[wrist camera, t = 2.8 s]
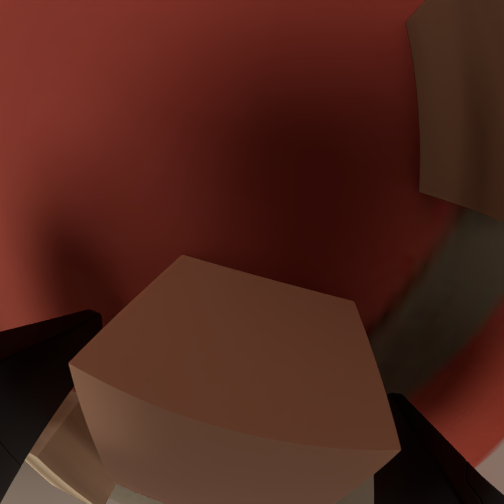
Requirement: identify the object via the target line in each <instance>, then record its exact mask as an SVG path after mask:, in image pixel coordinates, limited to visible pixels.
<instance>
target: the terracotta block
mask: <svg viewBox="0 0 504 504" xmlns="http://www.w3.org/2000/svg"><path fill="white" fill-rule="evenodd" d="M69 367H70V371H71V375H72V379H73V382H74V386H75V389H76V393H77V396H78V399H79V403H80V406H81V409H82V412H83V415H84V418H85V420H86V423H87V426H88V429H89V431H90V434H91V436H92V439H93V441H94V444H95V446H96V449H97V451H98V453H99V456H100V458H101V460H102V462H103V464H104V467H105V469H106V471H107V473H108V475H109V477H110V479H111V481H113V482H115V483H117V484H119V485H121V486H123V487H125V488H128V489H130V490H132V491H134V492H137V493H139V494H141V495H144V496H146V497H149V498H151V499H154V500H157V501H159V502H162V503H165V504H334V503H336V502H337V501H339V500H340V499H342V498H343V497H345V496H346V495H347V494H349V493H350V492H352V491H353V490H354V489H356V488H357V487H358V486H360V485H361V484H362V483H364V482H365V481H366V480H367V479H369V478H370V477H371V476H372V475H374V474H375V473H376V472H377V471H378V470H380V469H381V468H382V467H383V466H384V465H385V464H387V463H388V462H389V461H390V460H391V459H392V458H393V457H394V456H395V455H396V454H398V453H399V452H400V451H401V447H400V443H399V439H398V435H397V431H396V427H395V423H394V420H393V416H392V413H391V409H390V406H389V402H388V399H387V395H386V392H385V389H384V385H383V382H382V379H381V376H380V373H379V370H378V367H377V364H376V360H375V358H374V355H373V352H372V349H371V346H370V343H369V340H368V337H367V334H366V332H365V329H364V326H363V323H362V321H361V318H360V315H359V313H358V310H357V307H356V305H355V302H354V301H351V300H347V299H343V298H339V297H335V296H331V295H328V294H324V293H320V292H316V291H312V290H308V289H305V288H301V287H297V286H293V285H290V284H286V283H282V282H278V281H275V280H271V279H267V278H264V277H260V276H256V275H253V274H249V273H246V272H242V271H238V270H235V269H231V268H228V267H224V266H221V265H217V264H214V263H210V262H207V261H203V260H200V259H196V258H193V257H189V256H186V255H181V256H180V257H179V258H178V259H177V260H175V261H174V262H173V263H172V264H171V265H170V266H169V267H168V268H167V269H166V270H164V271H163V272H162V273H161V274H160V275H159V276H158V277H157V278H156V279H155V280H153V281H152V282H151V283H150V284H149V285H148V286H147V287H146V288H145V289H144V290H143V291H142V292H140V293H139V294H138V295H137V296H136V297H135V298H134V299H133V300H132V301H131V302H130V303H129V304H128V305H127V306H126V307H125V308H124V309H122V310H121V311H120V312H119V313H118V314H117V315H116V316H115V317H114V318H113V319H112V320H111V321H110V322H109V323H108V324H107V325H106V326H105V327H104V328H103V329H102V330H101V331H100V332H99V333H98V334H97V335H96V336H95V337H94V338H93V339H92V340H91V341H90V342H89V343H88V344H87V345H86V346H85V347H84V348H83V349H82V350H81V351H80V352H79V353H78V354H77V355H76V356H75V357H74V358H73V359H72V360H71V361H70V362H69Z"/></svg>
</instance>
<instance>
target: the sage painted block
mask: <svg viewBox="0 0 504 504" xmlns="http://www.w3.org/2000/svg"><path fill="white" fill-rule="evenodd" d="M334 504H374V475H372V476H371V477H370V478H369V479H367V480H366V481H365V482H364V483H362V484H361V485H360V486H358V487H357V488H356V489H354V490H353V491H352V492H350V493H349V494H347V495H346V496H345V497H343V498H342V499H340V500H339V501H337V502H336V503H334Z"/></svg>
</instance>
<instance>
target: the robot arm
mask: <svg viewBox="0 0 504 504" xmlns="http://www.w3.org/2000/svg"><path fill="white" fill-rule="evenodd" d="M102 329H103V326H102V316H101V314H99V313H98V312H95V311H93V310H90V309H88V310H84V311H81V312H77V313H73V314H69V315H65V316H61V317H57V318H53V319H49V320H45V321H41V322H37V323H33V324H29V325H25V326H21V327H17V328H13V329H9V330H5V331H1V332H0V503H1V501H2V499H3V497H4V496H5V494H6V492H7V490H8V488H9V487H10V485H11V483H12V481H13V480H14V478H15V476H16V474H17V473H18V471H19V469H20V467H21V465H22V464H23V462H24V460H25V459H26V457H27V456H28V454H29V452H30V451H31V449H32V448H33V446H34V445H35V443H36V441H37V440H38V438H39V437H40V435H41V434H42V432H43V431H44V429H45V428H46V426H47V425H48V423H49V422H50V420H51V419H52V417H53V416H54V414H55V413H56V411H57V410H58V408H59V407H60V405H61V404H62V403H63V401H64V400H65V398H66V397H67V396H68V394H69V393H70V391H71V390H72V388H73V387H74V382H73V379H72V375H71V371H70V367H69V362H70V361H71V360H72V359H73V358H74V357H75V356H76V355H77V354H78V353H79V352H80V351H81V350H82V349H83V348H84V347H85V346H86V345H87V344H88V343H89V342H90V341H91V340H92V339H93V338H94V337H95V336H96V335H97V334H98V333H99V332H100V331H101V330H102ZM387 399H388V402H389V406H390V409H391V413H392V416H393V420H394V423H395V427H396V431H397V435H398V439H399V443H400V447H401V451H400V452H399V453H398V454H396V455H395V456H394V457H393V458H392V459H391V460H390V461H389V462H388V463H387V464H385V465H384V466H383V467H382V468H381V469H380V470H378V471H377V472H376V473H375V474H374V504H504V495H503V494H502V493H501V492H500V491H498V490H497V489H496V488H495V487H494V486H493V485H491V484H490V483H489V482H488V481H487V480H486V479H485V478H483V477H482V476H481V475H480V474H479V473H478V472H477V471H476V470H475V469H474V468H473V467H472V466H471V465H470V464H469V462H468V461H466V459H465V458H464V457H463V456H462V455H461V454H460V453H459V452H458V451H457V450H456V449H455V448H454V447H453V446H452V445H451V444H450V443H449V442H448V441H447V440H446V439H445V438H444V437H443V436H442V435H441V434H440V433H439V432H438V431H437V429H436V428H435V427H434V426H433V425H432V424H431V423H430V422H429V421H428V420H427V419H426V418H425V417H424V416H423V415H422V414H421V413H420V412H419V411H418V410H417V409H416V408H415V407H414V406H413V405H412V404H411V403H410V402H409V401H408V400H407V399H406V398H405V397H404V396H403V395H402V394H400V393H389V394H388V395H387Z"/></svg>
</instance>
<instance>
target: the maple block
mask: <svg viewBox="0 0 504 504" xmlns="http://www.w3.org/2000/svg"><path fill="white" fill-rule="evenodd" d="M25 461H26V462H27V463H28V464H30V465H31V466H32V467H33V468H34V469H35V470H36V471H37V472H38V473H39V474H40V475H41V476H43V477H44V478H45V479H46V480H47V481H49V482H50V483H51V484H52V485H54V486H56V487H57V488H59V489H61V490H63V491H65V492H66V493H68V494H70V495H72V496H74V497H76V498H78V499H79V500H81V501H83V502H86V503H88V504H106V502H107V500H108V498H109V496H110V494H111V492H112V490H113V488H114V486H115V485H116V483H115V482H113V481H111V479H110V477H109V475H108V473H107V471H106V469H105V467H104V464H103V462H102V460H101V458H100V456H99V453H98V451H97V449H96V446H95V444H94V441H93V439H92V436H91V434H90V431H89V429H88V426H87V423H86V420H85V418H84V415H83V412H82V409H81V406H80V403H79V399H78V396H77V393H76V392H75V391H70V393H69V394H68V396H67V397H66V398H65V400H64V401H63V403H62V404H61V405H60V407H59V408H58V410H57V411H56V413H55V414H54V416H53V417H52V419H51V420H50V422H49V423H48V425H47V426H46V428H45V429H44V431H43V432H42V434H41V435H40V437H39V438H38V440H37V441H36V443H35V445H34V446H33V448H32V449H31V451H30V452H29V454H28V456H27V457H26V459H25Z"/></svg>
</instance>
